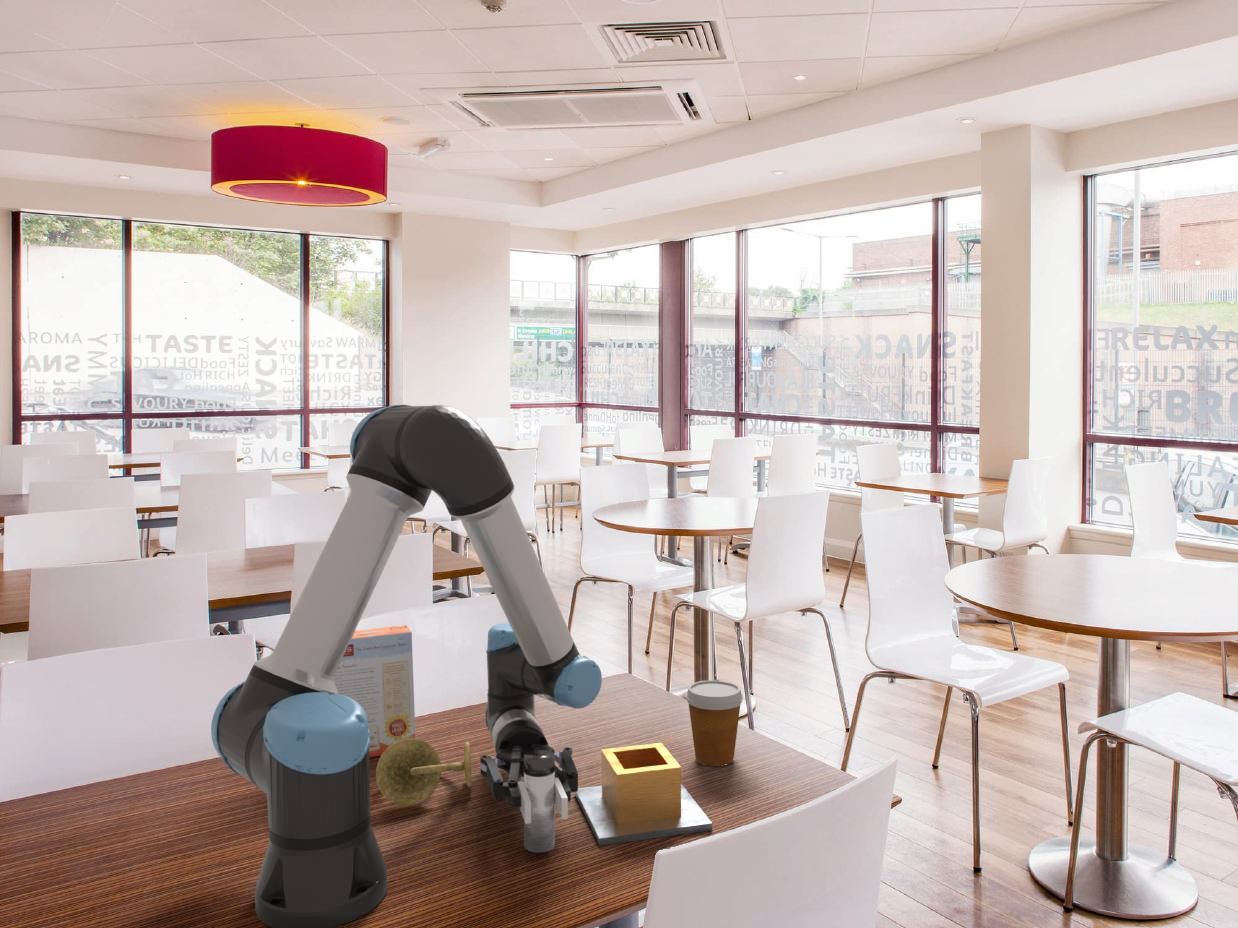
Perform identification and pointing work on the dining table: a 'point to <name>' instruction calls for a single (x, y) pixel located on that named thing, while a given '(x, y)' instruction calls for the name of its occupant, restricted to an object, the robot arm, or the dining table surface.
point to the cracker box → (381, 683)
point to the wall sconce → (414, 771)
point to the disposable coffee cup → (714, 720)
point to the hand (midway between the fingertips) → (546, 810)
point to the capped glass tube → (540, 800)
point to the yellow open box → (640, 797)
